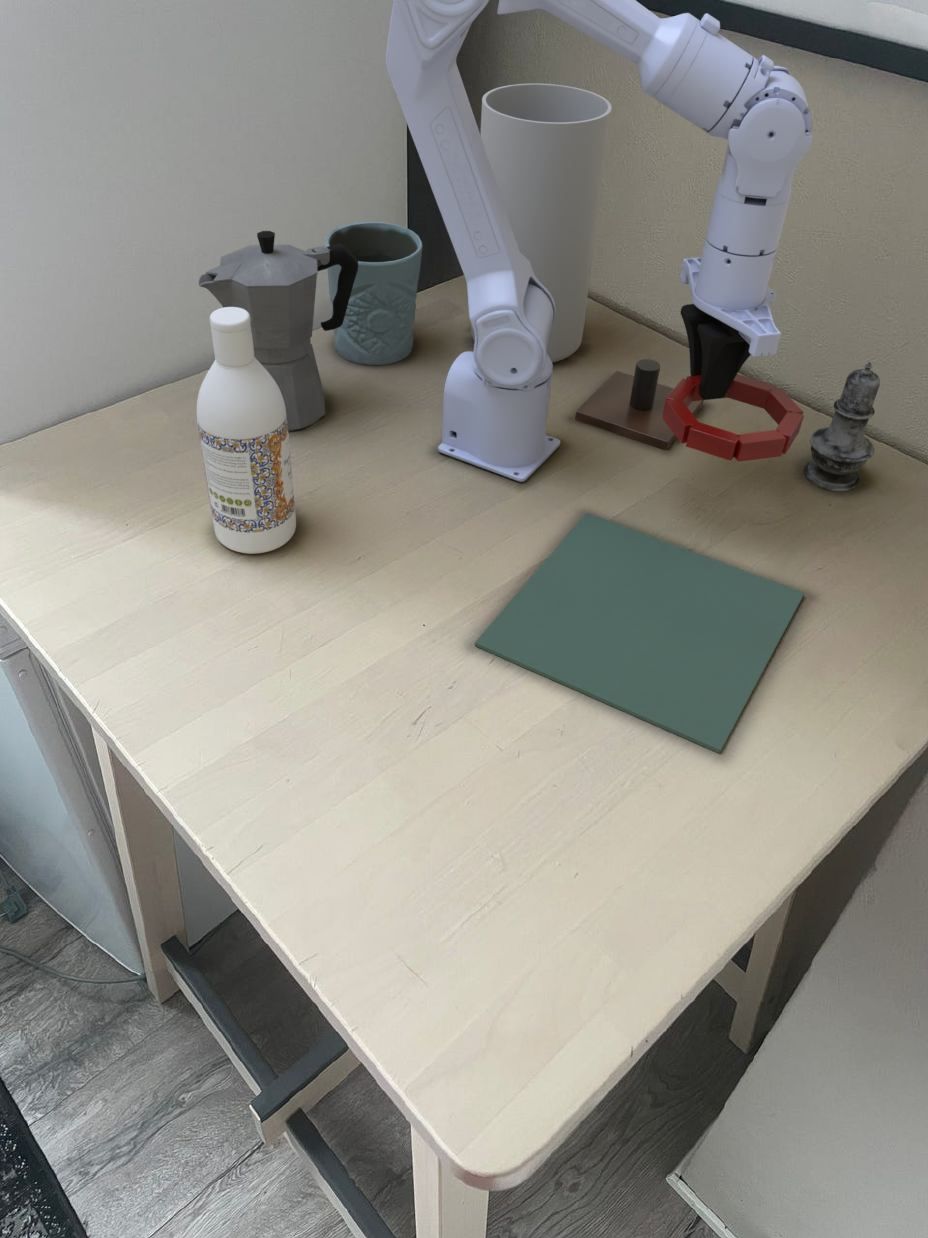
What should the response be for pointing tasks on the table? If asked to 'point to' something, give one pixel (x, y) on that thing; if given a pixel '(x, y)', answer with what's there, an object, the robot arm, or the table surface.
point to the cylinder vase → (551, 188)
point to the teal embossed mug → (377, 291)
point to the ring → (728, 442)
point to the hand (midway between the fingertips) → (707, 391)
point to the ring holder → (633, 406)
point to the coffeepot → (284, 312)
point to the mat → (646, 628)
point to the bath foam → (244, 442)
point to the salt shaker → (845, 435)
